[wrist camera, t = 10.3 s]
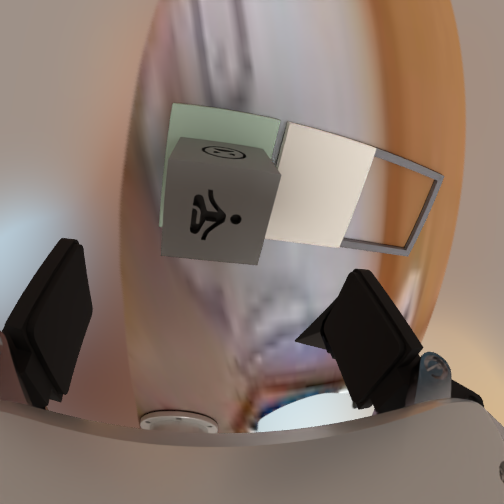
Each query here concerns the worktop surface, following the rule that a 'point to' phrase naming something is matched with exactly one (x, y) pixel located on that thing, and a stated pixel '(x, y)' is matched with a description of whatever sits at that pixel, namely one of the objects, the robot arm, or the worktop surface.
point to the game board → (300, 174)
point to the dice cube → (217, 201)
